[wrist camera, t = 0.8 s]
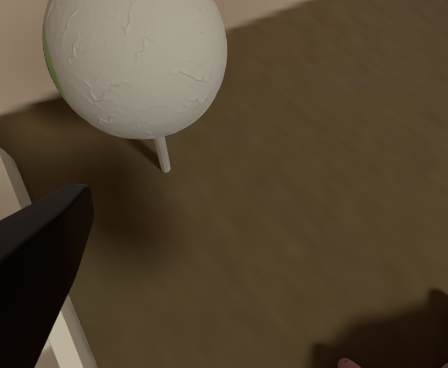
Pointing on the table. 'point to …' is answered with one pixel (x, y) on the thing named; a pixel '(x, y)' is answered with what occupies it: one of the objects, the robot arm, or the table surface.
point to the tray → (67, 319)
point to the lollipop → (136, 63)
